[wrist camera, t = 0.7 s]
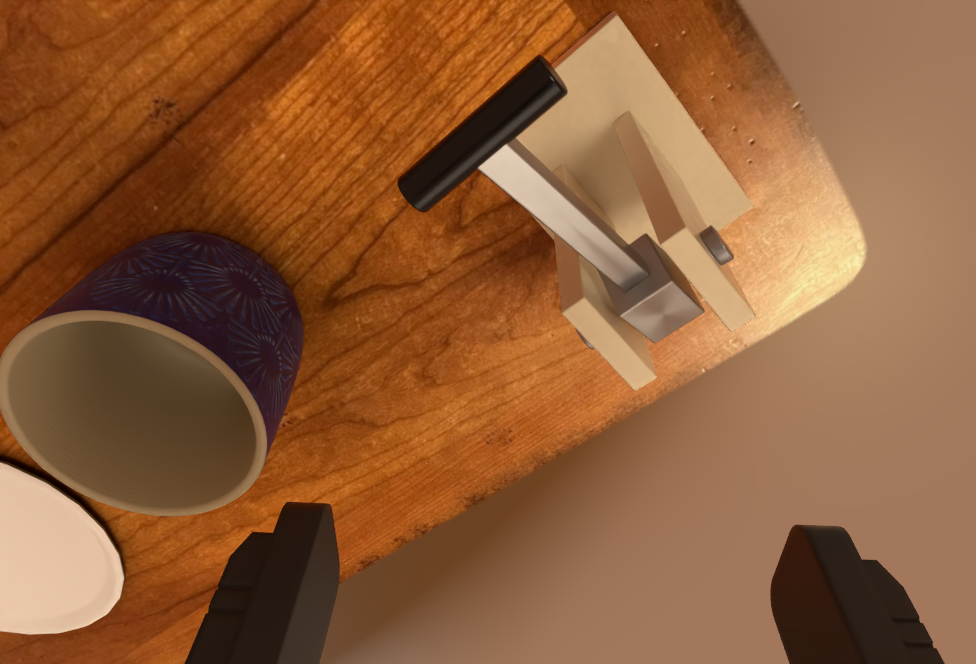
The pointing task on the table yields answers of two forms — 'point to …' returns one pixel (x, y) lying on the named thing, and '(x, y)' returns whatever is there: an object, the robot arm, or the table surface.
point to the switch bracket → (635, 187)
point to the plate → (52, 558)
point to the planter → (158, 376)
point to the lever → (553, 201)
